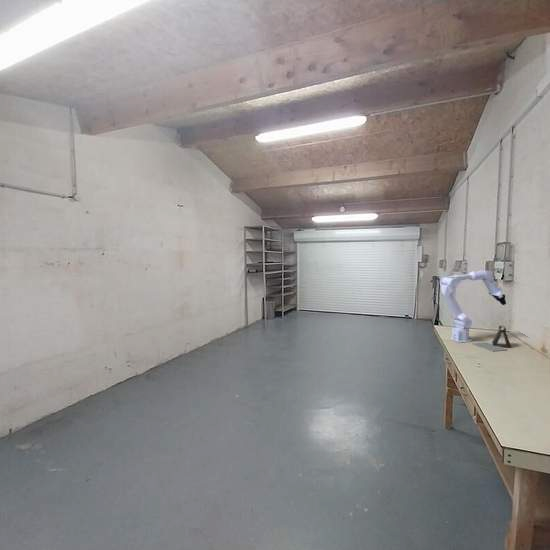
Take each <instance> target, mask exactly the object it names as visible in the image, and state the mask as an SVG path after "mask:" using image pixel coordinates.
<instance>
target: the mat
mask: <svg viewBox="0 0 550 550" xmlns="http://www.w3.org/2000/svg"><path fill="white" fill-rule="evenodd" d="M473 344H474V346H476V347H479V348H481V349H482V348H483V349H485V350H487V351H491V352H493V353H494V352H503V351H505V352H506V351H508V350H509V349H507V348H505V347H501V346H494V345H493V344H492V343H489V342H475V343H474V342H473V343H472V345H473Z"/></svg>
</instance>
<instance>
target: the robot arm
mask: <svg viewBox="0 0 550 550" xmlns="http://www.w3.org/2000/svg"><path fill="white" fill-rule="evenodd" d="M465 280H466V281H467V280H469V281H473V282H474V281H481V280H482V282H483V284H484V285H485V287H486V289H487V291H488V294H489V295H491V296H492V297H493V299H495V300H496V301H497V302H499V303H500V305H502V306H505V305H507V302H506V294H504V293H503V294H502V290H503V289H502V288H501V287H499V286H498V284H497V282H496V280H494V275H493V272H492V271H490V270H482V269H479V270H477V271H476V270H472V271H470V272H469V273H467V274H454V275H448V276H443V277H442V278H441V279H440V281H439V285H440V287H441V295H442V297H443V298H444V300H445V302H446V304H447V306H448V307H449V309H450V311H451V313H452V314H453V316H452V320H453V324H454V325H455V327H453V328H452V329H451V338H450V340H452V341H455V342H458V343H470V342H473V340H470V328H471V327H472V324H473V322H472V320H471V319H470V318H469V317H468V315H466V314H465V313H464V312H463V311H462V308H461V307H460V305H459V303H458V301H457V300H456V297H455V296H454V294H453V292H454V291H456V289H457V287H458V286H459V284H460V283H461V281H465Z"/></svg>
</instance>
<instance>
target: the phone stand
mask: <svg viewBox="0 0 550 550" xmlns="http://www.w3.org/2000/svg"><path fill="white" fill-rule="evenodd" d="M502 328H503V329H502ZM502 334H503V336H504V342H505V343H499V340H500V338H501V336H502ZM508 337H509V336H508V334H507V328H506V327H505V326H504V325H499V326H498V330H497V333H496V334H495V336H494V338H493V340H492V341H491V344H492V345H494V346H498V347H501V348H510V349H511V348H512V345H511V343H510V340H509V338H508Z"/></svg>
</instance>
